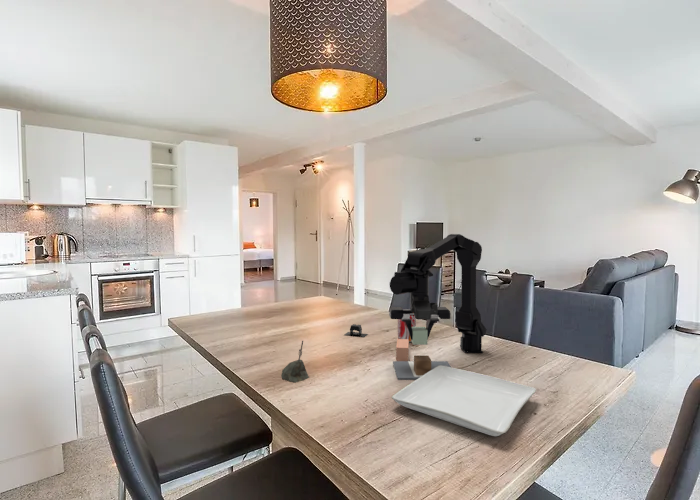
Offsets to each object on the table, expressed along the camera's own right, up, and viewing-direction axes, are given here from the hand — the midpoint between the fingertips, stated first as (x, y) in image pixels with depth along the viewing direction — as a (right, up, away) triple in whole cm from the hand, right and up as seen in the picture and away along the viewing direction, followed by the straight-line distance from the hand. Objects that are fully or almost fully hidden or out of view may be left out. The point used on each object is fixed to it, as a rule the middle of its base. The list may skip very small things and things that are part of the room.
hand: (419, 339), depth 122 cm
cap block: (-4, -9, +10) cm, 14 cm away
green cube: (0, -1, 0) cm, 1 cm away
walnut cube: (0, -9, -6) cm, 11 cm away
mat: (+1, -9, -3) cm, 10 cm away
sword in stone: (-39, -10, -7) cm, 41 cm away
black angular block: (-20, -8, +38) cm, 43 cm away
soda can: (0, -8, +29) cm, 30 cm away
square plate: (+7, -11, -26) cm, 29 cm away
